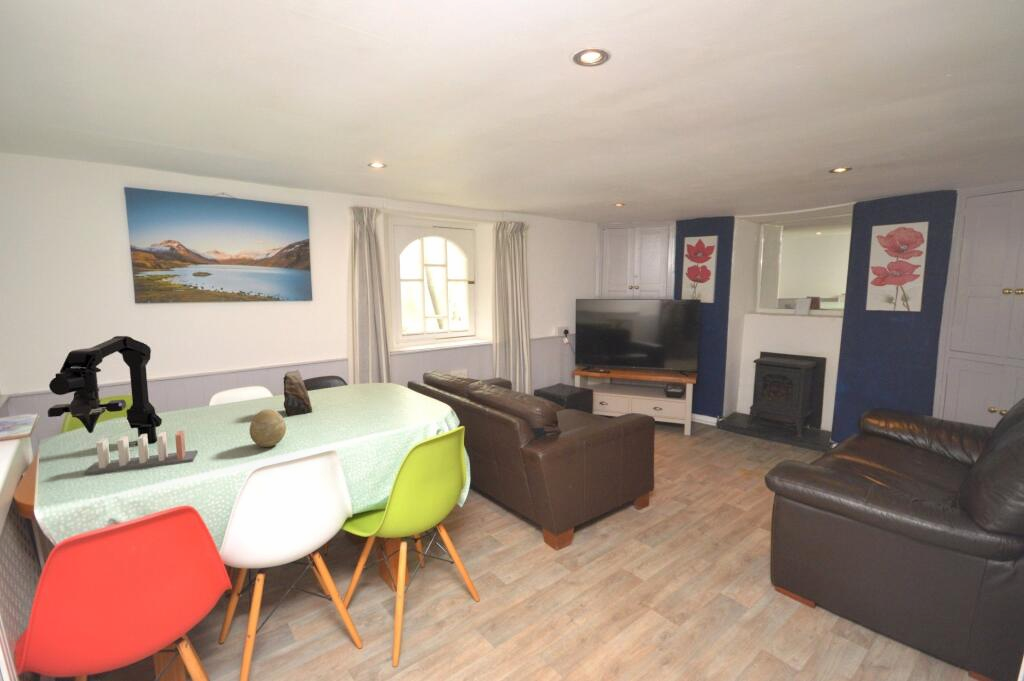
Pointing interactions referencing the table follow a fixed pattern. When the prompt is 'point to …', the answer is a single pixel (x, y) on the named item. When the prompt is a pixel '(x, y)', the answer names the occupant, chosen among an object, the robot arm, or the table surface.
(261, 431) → the fossilized egg
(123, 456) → the domino
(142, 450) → the domino
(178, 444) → the brick domino
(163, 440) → the domino
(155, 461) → the board
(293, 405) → the tapered brown rock
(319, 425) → the table surface
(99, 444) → the domino
